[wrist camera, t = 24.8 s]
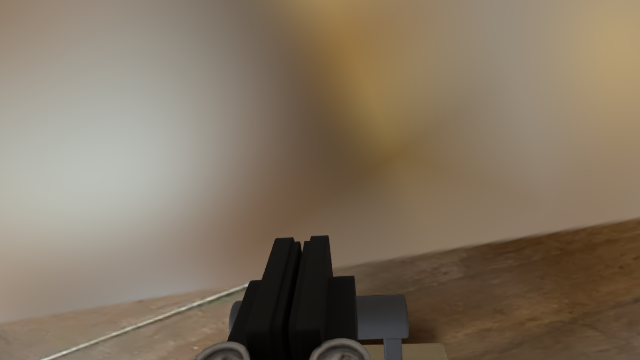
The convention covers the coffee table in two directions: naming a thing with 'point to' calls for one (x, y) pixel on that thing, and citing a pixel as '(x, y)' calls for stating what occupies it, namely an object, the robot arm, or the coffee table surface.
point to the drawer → (383, 329)
